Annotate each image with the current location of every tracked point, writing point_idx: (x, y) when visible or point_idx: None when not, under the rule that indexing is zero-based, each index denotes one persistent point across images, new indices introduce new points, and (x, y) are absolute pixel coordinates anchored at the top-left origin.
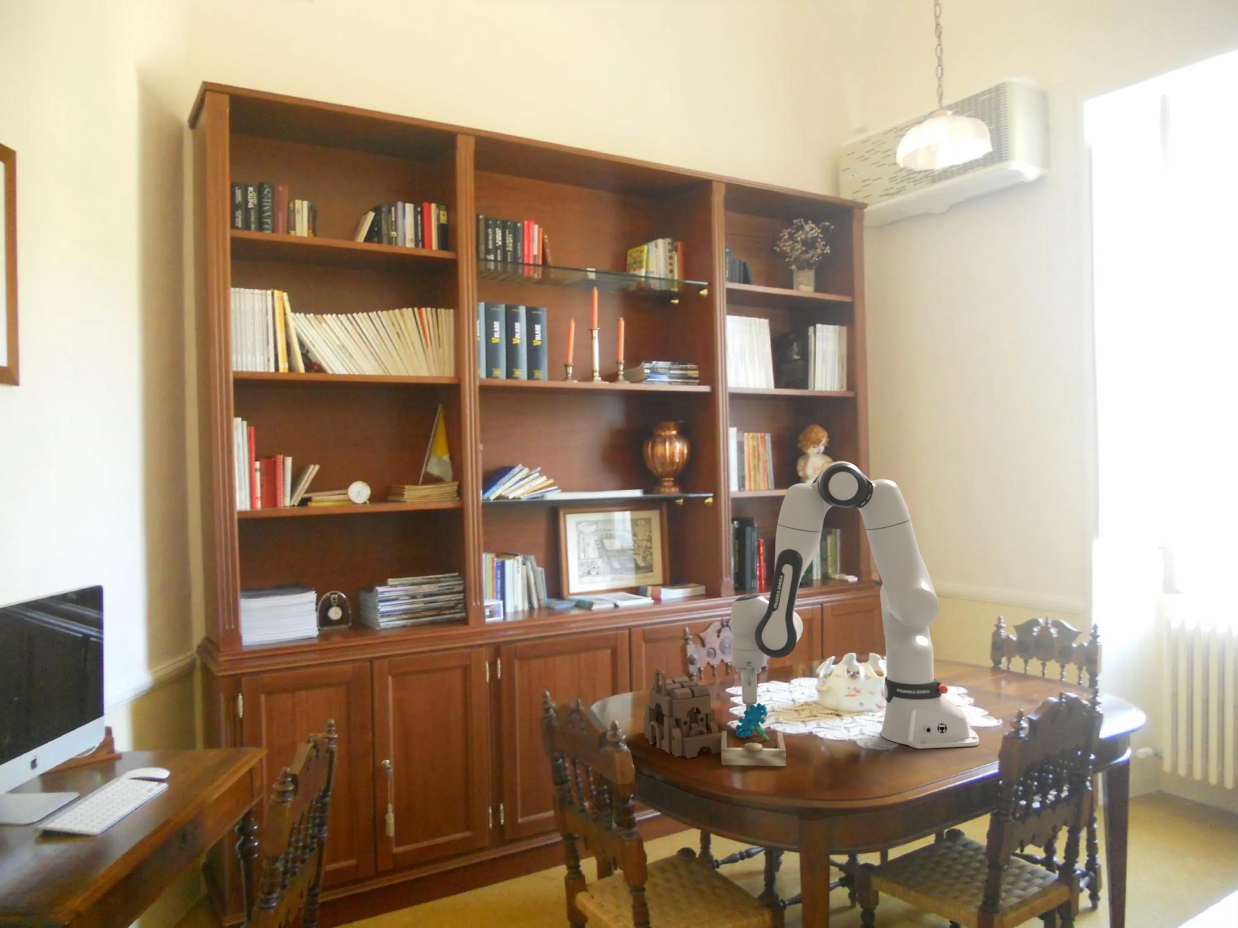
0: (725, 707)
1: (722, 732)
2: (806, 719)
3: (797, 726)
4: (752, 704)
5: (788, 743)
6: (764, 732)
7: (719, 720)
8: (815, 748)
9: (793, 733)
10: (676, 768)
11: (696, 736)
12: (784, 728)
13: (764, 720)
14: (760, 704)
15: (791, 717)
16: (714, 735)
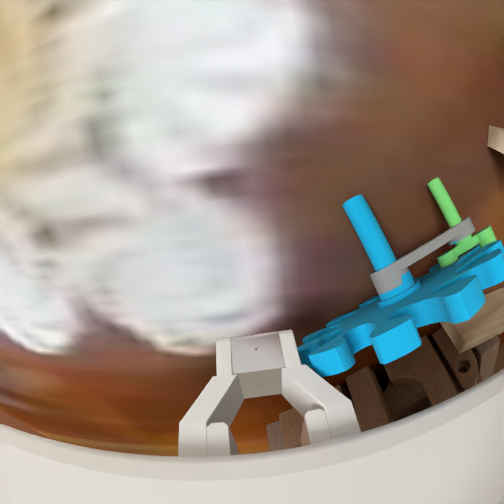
0: (35, 360)
1: (471, 346)
2: (25, 11)
3: (160, 10)
4: (321, 379)
5: (464, 89)
6: (365, 201)
7: (172, 374)
8: (492, 4)
9: (319, 29)
10: (500, 342)
11: (482, 374)
12: (219, 81)
13: (501, 245)
14: (420, 341)
15: (6, 95)
16: (497, 350)
